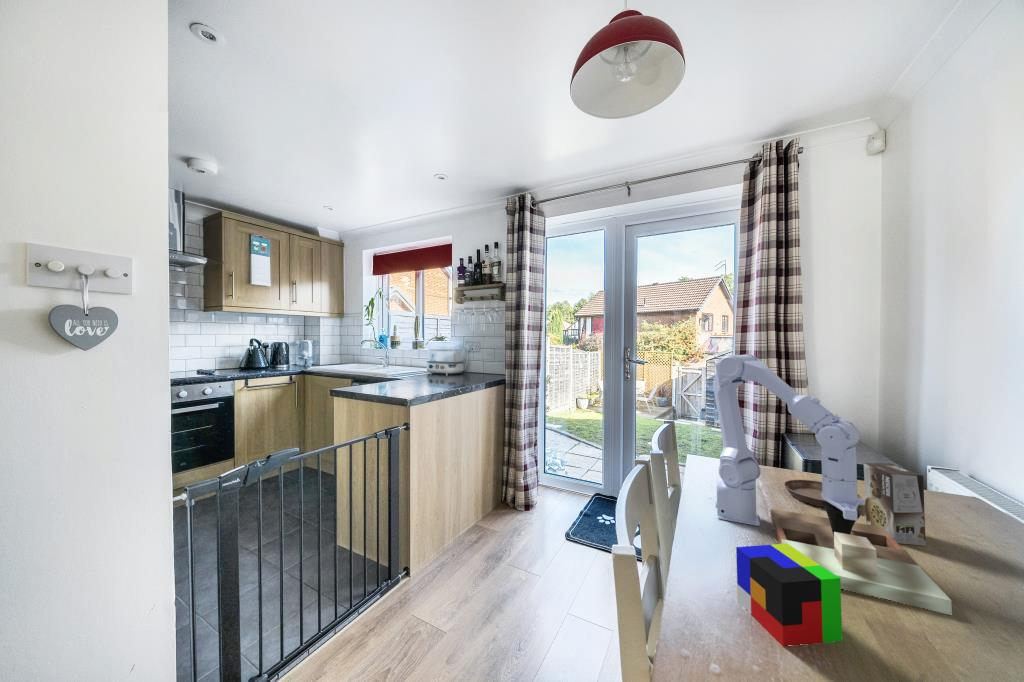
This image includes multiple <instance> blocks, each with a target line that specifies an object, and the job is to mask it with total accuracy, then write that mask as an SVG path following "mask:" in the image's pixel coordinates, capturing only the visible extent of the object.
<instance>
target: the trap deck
mask: <svg viewBox="0 0 1024 682" xmlns="http://www.w3.org/2000/svg"><path fill="white" fill-rule="evenodd" d="M769 510H770V520H771V523H772V526H773V529H774V531H775V534H776V538H777V540H778V544H788V545H790V546H792V547H793V548H795V549H796V550H798V551H799V552H801V553H802V554H804V555H805V556H807V557H809V558H810V559H812V560H813V561H815V562H816V563H818V564H819V565H821V566H822V567H824V568H826V569H827V570H829V571H830V572H832V573H833V574H835V575H836V576H838V577H839V578H840V581H841V589H844V590H843V591H846V590H848V591H847V592H850V591H852V592H851V593H854V592H856V593H855V594H859V593H860V594H859V595H863V594H864V596H867V595H868V597H871V596H874V597H873V598H876V597H879V598H878V599H880V598H885V599H888V600H889V599H890V600H893V601H897V602H901V603H905V604H909V605H908V606H910V605H912V606H911V607H914V606H916V607H915V608H918V607H920V608H919V609H923V608H925V609H924V610H927V609H928V610H927V611H931V610H932V611H931V612H934V613H935V612H936V613H940V614H945V615H948V616H949V615H950V616H953V610H952V599H950V597H949V596H948V595H947V594H946V593H945V592H944V591H943V590H942V589H941V588H940V587H939V586H938V584H937V583H935V581H933V579H931V577H930V576H928V574H927V573H926V572H925V571H924V570H923V568H922V567H921V566H919V565H918V564H917V563H916V562H915V561H914V559H913V558H912V557H911V556H910V555H909V554H908V553H907V552H906V550H904V548H903V547H901V545H900V543H897V542H896V541H895V540H894V539H893V538H892V537H891V536H890V535H889V534H888V533H887V532H886V530H885V529H884V528H883V527H879V526H873V525H866V524H865V523H860V522H859V523H858V522H855V523H854V525H853V527H852V530H851V533H850V535H855V536H861V537H866V538H867V539H868V540H869V542H870V543H871V544H872V545H873V547H874V548H875V549H876V557H877V576H873V575H868V574H863V573H859V572H854V571H849V570H844V569H842V567H841V566H840V564H839V562H838V561H837V559H836V557H835V552H834V535H833V532H832V529H831V525H830V521H829V518H828V517H824V516H823V517H822V516H816V515H811V514H807V513H806V514H804V513H799V512H792V511H786V510H780V509H776V508H775V509H774V508H770V509H769ZM888 600H887V601H888ZM893 601H892V602H893ZM897 602H896V603H897ZM901 603H900V604H901ZM905 604H904V605H905Z"/></svg>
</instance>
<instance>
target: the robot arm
mask: <svg viewBox="0 0 1024 682" xmlns="http://www.w3.org/2000/svg"><path fill="white" fill-rule="evenodd" d="M714 366H715V374H714V377H713V381H712V389H713V393H714V394H713V395H714V399H715V400H714V401H715V405H716V412H717V416H718V421H719V422H718V423H719V428H720V432H721V438H722V442H723V449H722V451H721V453H720V455H719V457H718V458H719V466H718V475H719V477H720V479H721V480H717V481H716V500H715V509H716V510H717V511H716V513H717V519H719V520H724V521H730V522H734V523H738V524H739V523H741V524H745V525H751V526H755V527H756V526H757V527H760V526H761V524H760V520H759V516H758V515H759V514H758V512H757V485H756V484H757V481H756V480H758V479H759V478H760V476H761V467H760V465H759V463H758V461H757V460H756V458H755V453H754V452H753V451H752V450H750V448H749V447H748V444H747V439H746V436H745V429H744V424H743V419H742V414H741V410H740V409H741V408H740V404H739V399H738V393H737V389H738V388H739V387H741V385H742V384H743V383H744V382H745V381H747V382H748V381H749V382H756V383H759V384H760V385H762V386H763V387H764V388H765V389H767V390H768V391H769V392H771V393H772V394H773V395H774V396H776V397H777V398H778V399H780V400H781V401H782V402H784V403H785V404H786V405H787V411H788V413H789V414H791V415H792V416H793V417H794V418H795V419H796V420H798V421H799V422H800V423H801V424H803V425H804V426H805V427H806V428H807V429H808V430H809V431H810V432H812V433H814V437H815V439H816V441H817V443H818V445H820V446H821V455H820V456H821V482H822V493H821V497H822V498H823V499H824V500H826V501H827V502H826V501H822V502H821V503H822V505H823V506H824V507H823V508H824V510H825V512H826V515H827V518H829V521H830V525H831V529H832V532H833V535H834V532H838V533H844V534H849V535H850V533H851V530H852V527H853V525H854V523H857V522H858V520H859V519H860V517H861V513H860V512H859V511H858V508H859V506H866V503H865V500H864V499H863V498H862V499H860V498H857V493H858V473H857V472H858V471H857V470H858V469H857V468H858V465H857V463H858V462H857V453H856V452H857V450H856V445H857V444H858V443H859V442H860V440H861V433H860V431H859V429H858V428H857V427H856V425H854V423H853V422H851V421H848V420H845V419H842V418H841V416H840V415H838V414H833V413H832V412H831V411H830V410H829V409H827V408H826V407H824V405H822V404H820V403H821V400H820V399H818V398H817V397H811V395H806V394H805V395H803V394H802V395H800V394H799V393H798V392H797V391H795V389H793V388H792V387H791V386H790V385H789V384H787V382H785V381H784V380H783V379H782V378H781V377H779V375H777V374H776V373H775V372H774V371H773V370H771V369H770V368H769V366H768V365H767V364H766V363H765V362H764V361H762V360H759V359H758V358H757V356H755V355H753V354H749V353H743V354H734V355H733V354H726V355H724V356H722V357H721V358H720V359H719V360H718V361H717V362H716V363H715V365H714ZM856 521H857V522H856Z"/></svg>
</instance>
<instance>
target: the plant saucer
mask: <svg viewBox="0 0 1024 682" xmlns="http://www.w3.org/2000/svg"><path fill="white" fill-rule="evenodd" d="M783 485H784V487H785V489H786V490H787V492H788V493H789V494H790V495H791V496H792V497H794V498H795V499H797V500H799V501H801V502H803V503H806V504H808V503H809V505H811V506H815V505H816V506H817V507H819V506H820V508H824V506H823V505H822V503H821V502H822V501H826V500H824V499H823V498H822V497H821V493H822V481H818V480H811V479H790V480H787V481H785V482H783ZM857 498H860V499H863V498H862V496H861V495H860V494H859V493H858V492H857ZM826 502H827V501H826Z"/></svg>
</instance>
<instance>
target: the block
mask: <svg viewBox="0 0 1024 682" xmlns="http://www.w3.org/2000/svg"><path fill="white" fill-rule="evenodd" d="M834 552H835V557H836V559H837V561H838V562H839V564H840V566H841V567H842V569H844V570H849V571H854V572H859V573H863V574H868V575H873V576H877V557H876V549H875V548H874V547H873V545H872V544H871V543H870V542H869V540H868V539H867V538H866V537H861V536H855V535H849V534H844V533H838V532H834Z"/></svg>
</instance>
